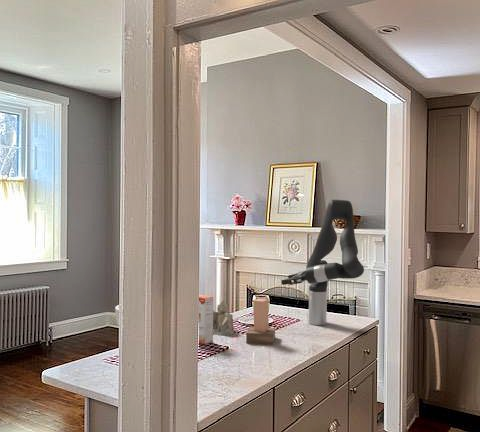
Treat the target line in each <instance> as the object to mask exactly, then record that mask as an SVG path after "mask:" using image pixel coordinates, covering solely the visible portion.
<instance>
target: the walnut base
mask: <svg viewBox="0 0 480 432" xmlns="http://www.w3.org/2000/svg"><path fill="white" fill-rule="evenodd" d="M245 334H246V339H245V340H246V341H245V342H246V344H251V345H253V344H254V345H271V346H273V345H274V343H275V339H276V327H269V329H268V330H267V331H265V332H259V331H254V326H249V327H248V328H247V331H246V333H245Z"/></svg>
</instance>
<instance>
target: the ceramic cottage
mask: <svg viewBox="0 0 480 432" xmlns="http://www.w3.org/2000/svg"><path fill="white" fill-rule="evenodd" d="M225 303H226V302H225V300H224V299H221V301H220V304H217V307H216V308H217V309H216V310H217V311H215V310H213V335H217V336H225V335H226V336H230V335H233V334H234V333H235V326H234V318H233V317H234V316H233V314H231V313H229V307H228V304H225Z"/></svg>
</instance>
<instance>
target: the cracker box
mask: <svg viewBox="0 0 480 432" xmlns="http://www.w3.org/2000/svg"><path fill="white" fill-rule="evenodd" d="M213 311H214V297H213V296H210V295H206V294H205V295H204V294H199V343H198V344H201V345H204V344H205V345H207V344H211V343H213V342H214V334H213Z"/></svg>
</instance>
